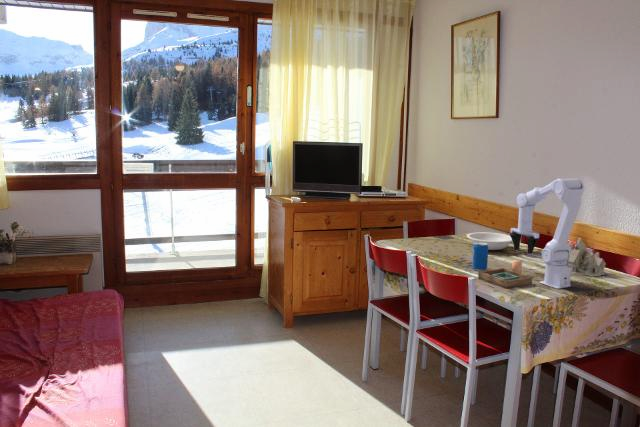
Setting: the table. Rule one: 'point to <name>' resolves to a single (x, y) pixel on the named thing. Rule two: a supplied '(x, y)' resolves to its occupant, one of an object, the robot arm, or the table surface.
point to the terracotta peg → (517, 266)
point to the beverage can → (480, 256)
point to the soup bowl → (491, 239)
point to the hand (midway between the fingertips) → (523, 251)
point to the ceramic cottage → (584, 261)
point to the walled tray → (505, 278)
